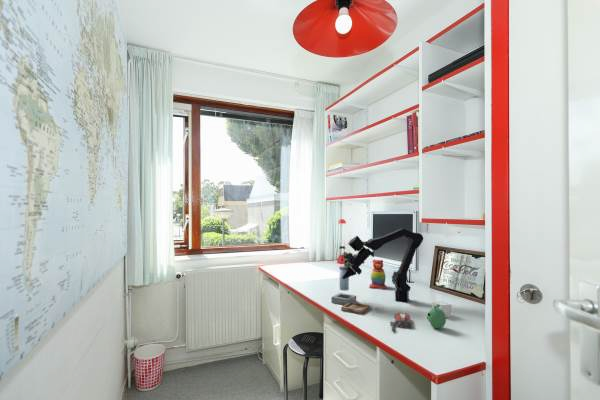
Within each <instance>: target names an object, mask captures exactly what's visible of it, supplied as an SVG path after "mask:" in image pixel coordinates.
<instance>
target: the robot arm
mask: <svg viewBox="0 0 600 400" xmlns="http://www.w3.org/2000/svg"><path fill="white" fill-rule="evenodd" d="M401 237H404V238H406V239H407V248H406V250H405V253H404V255H403V258H402V260H401V262H400V265H399V268H398V270H397V271H393V273H392V276H391V282H392V284H393V285H394V287H395V292H394V297H395V299H394V300H395V301H398V302H403V303H408V302H409V301H410V300H411V299H410V291H411V286H410V285H409V284H408V283H407V281H408V271H409V269H410V267H411V264H412V261H413V259H414V256H415V253H416V250H417V249H418V248H419V247H420V246H421V244H422V243H423V240H424V237H423V235H422V234H421V233H420V232H413V231H410V230H407V229H406V228H399V229H397V230H393V231H392V232H390V233H387V234H384V235H382V236H379V237H374V238H373V237H372V238H369V239H368V240H367V241H363V240H361V238H360V237H359V235H356V236H353V238H351V239H350V240H349V241H348V242H347V245H348V246H350V248H351V249H352V250H354V251H355V252H357V253H355V254H353V253H352V252H346V251H344V252H343V254H342V256H341V258H343V266H348V270H347V271H346V273H345V274H344V276H343V277H342V278H343V279H345V278H348V277H349V278H350V277H353V276H355V275H359V276H360V275H361V274H362V269H361V268H360V267H361V266H362V264H365V263H366V262H365V261H366V260H367V259H368V258H369V257H374V258H375V252H374V251H377V250H379V249H380V248H382V247H383V246H384V245H385V244H388V243H390V242H392V241H395V240H398V239H399V238H401Z"/></svg>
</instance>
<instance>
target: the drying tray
mask: <svg viewBox="0 0 600 400" xmlns="http://www.w3.org/2000/svg"><path fill="white" fill-rule="evenodd" d="M370 309H371V305H370V304H367V303H365V304H364V303H360V302H349V303H347V304H346V305H342V306H341V308H340V311H342V312H348V313H352V314H357V315H363V314H365V313H366V312H368V311H369V310H370Z"/></svg>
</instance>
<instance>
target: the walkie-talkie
mask: <svg viewBox="0 0 600 400" xmlns="http://www.w3.org/2000/svg"><path fill="white" fill-rule="evenodd" d="M389 321H390V322H389V323H390V325H389V326H390V327H391V331H392V332H395V327H396V328H404V329H411V328H412V321H411V316H410V314H409V313H407V312H396V313H395V314H394V316H393V317H391V318H390V320H389Z"/></svg>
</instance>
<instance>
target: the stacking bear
mask: <svg viewBox="0 0 600 400" xmlns="http://www.w3.org/2000/svg"><path fill="white" fill-rule="evenodd" d="M383 262H384V260H382V259H373V260H372V267H373V269H372V270H371V273H370V280H371V284H369V288H370V289H377V290H378V289H380V290H387V285H386V284H385V283H386V279H387V276H386V272H385V269H383V267H384V263H383Z"/></svg>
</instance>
